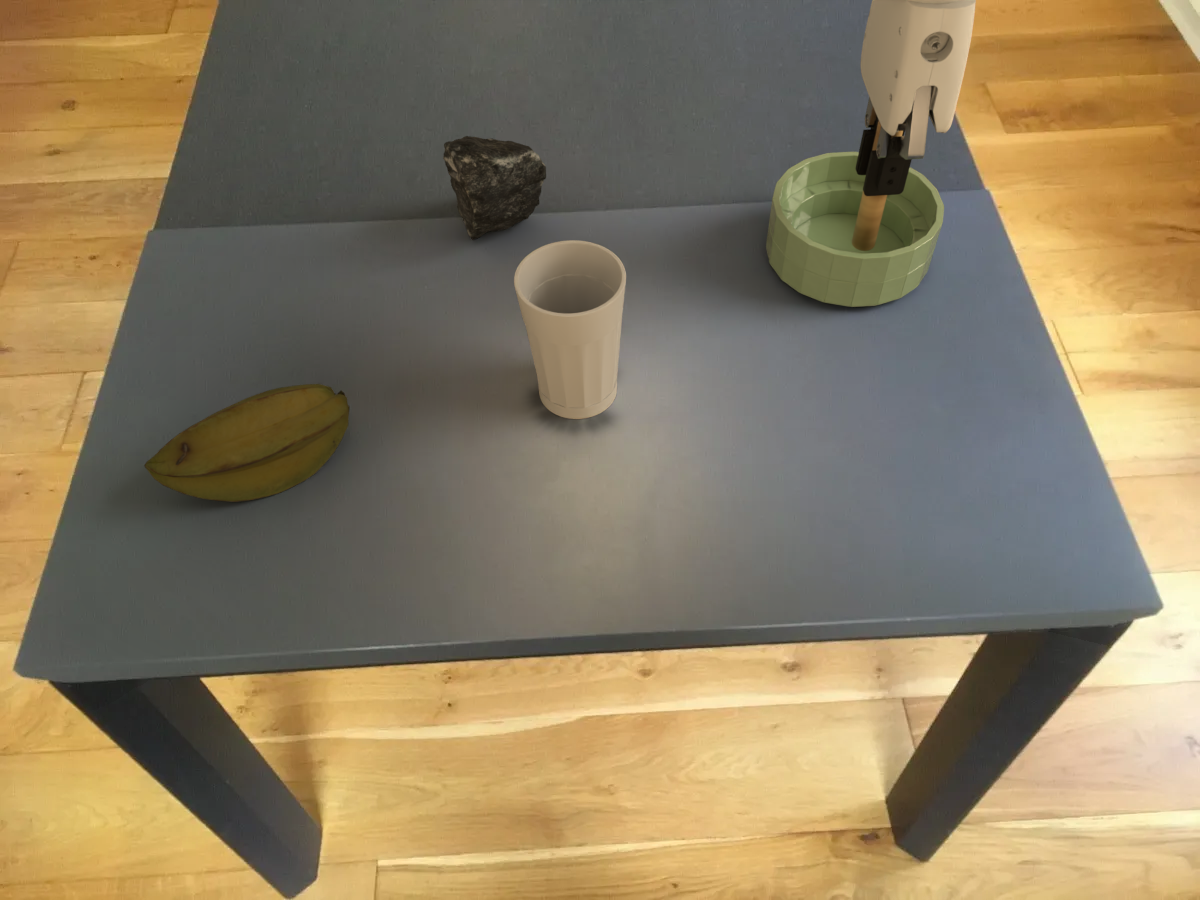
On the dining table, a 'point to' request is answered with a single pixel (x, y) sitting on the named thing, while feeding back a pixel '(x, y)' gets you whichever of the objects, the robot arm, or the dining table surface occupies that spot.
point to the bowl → (849, 233)
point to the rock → (493, 182)
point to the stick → (869, 213)
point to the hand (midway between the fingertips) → (878, 181)
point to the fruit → (255, 445)
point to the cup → (573, 324)
